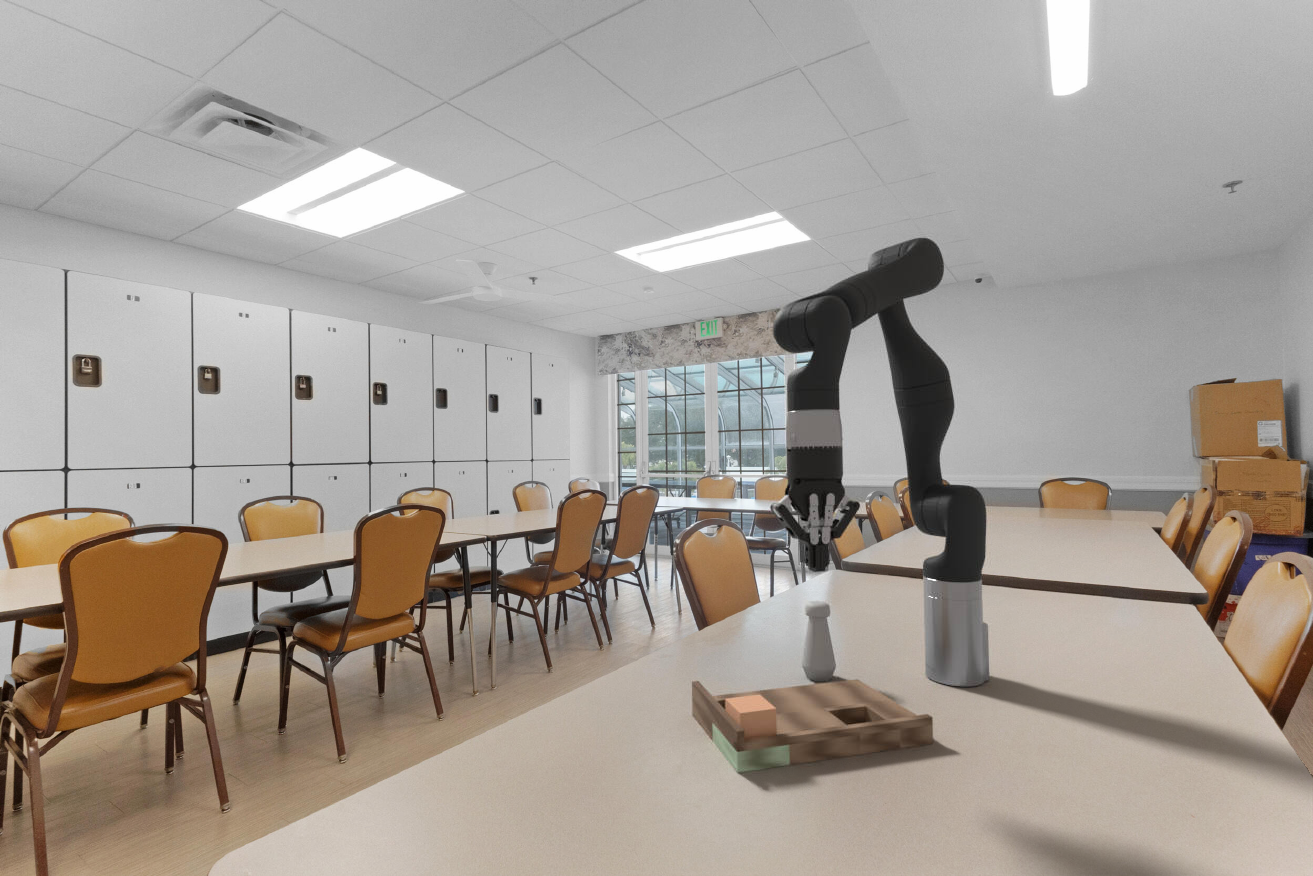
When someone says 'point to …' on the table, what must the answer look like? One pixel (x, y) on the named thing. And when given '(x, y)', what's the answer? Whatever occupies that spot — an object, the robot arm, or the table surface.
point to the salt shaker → (818, 643)
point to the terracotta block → (753, 715)
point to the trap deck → (812, 724)
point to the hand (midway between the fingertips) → (816, 570)
